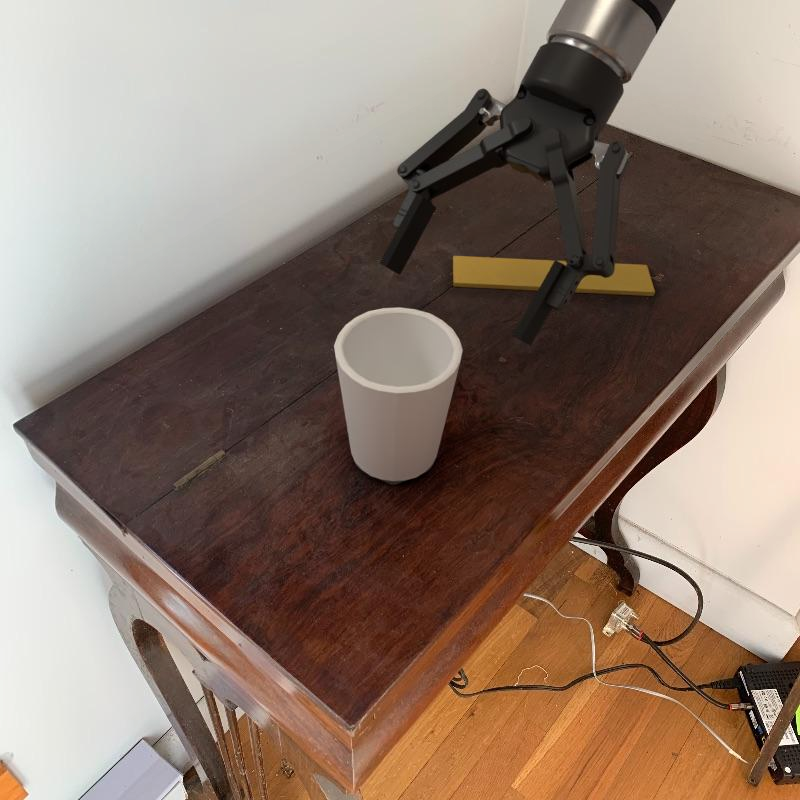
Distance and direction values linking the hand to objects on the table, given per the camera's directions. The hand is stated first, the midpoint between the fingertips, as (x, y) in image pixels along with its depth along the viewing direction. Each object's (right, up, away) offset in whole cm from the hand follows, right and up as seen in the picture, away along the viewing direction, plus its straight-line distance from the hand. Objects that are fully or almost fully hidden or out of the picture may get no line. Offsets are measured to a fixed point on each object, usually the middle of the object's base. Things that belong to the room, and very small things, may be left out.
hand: (452, 303), depth 66 cm
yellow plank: (+13, +6, +24) cm, 28 cm away
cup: (-5, -13, +5) cm, 15 cm away
